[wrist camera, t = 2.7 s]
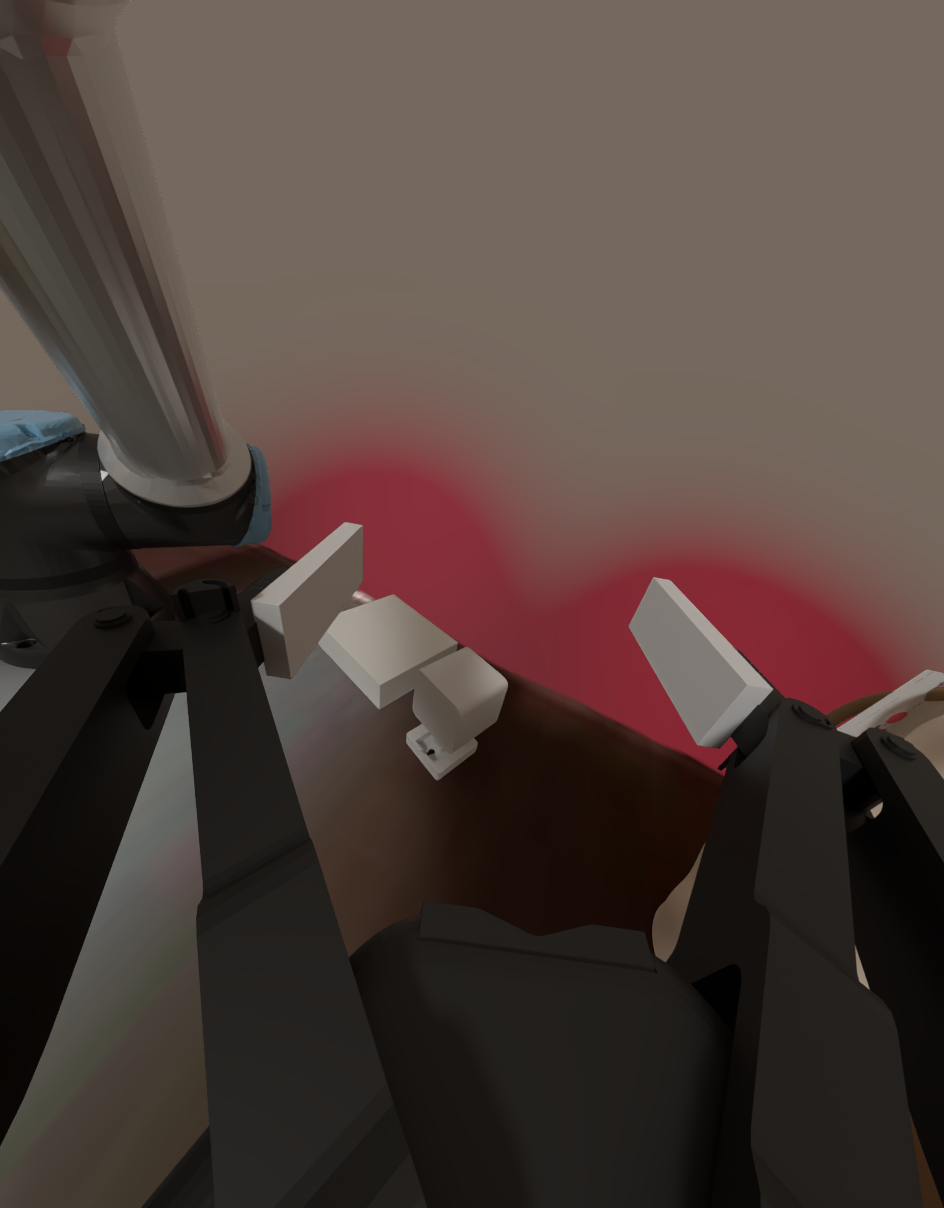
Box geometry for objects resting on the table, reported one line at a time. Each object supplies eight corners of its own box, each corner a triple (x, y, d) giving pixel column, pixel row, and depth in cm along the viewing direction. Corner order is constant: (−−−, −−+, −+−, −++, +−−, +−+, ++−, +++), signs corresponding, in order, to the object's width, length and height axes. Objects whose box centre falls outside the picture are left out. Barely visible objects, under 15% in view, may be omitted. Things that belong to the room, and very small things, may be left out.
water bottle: (605, 896, 27) (897, 610, 12) (679, 854, 31) (975, 595, 16) (724, 1109, 19) (1906, 1045, 4) (804, 1020, 23) (1609, 822, 8)
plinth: (318, 644, 45) (316, 620, 43) (392, 615, 54) (393, 594, 51) (379, 709, 38) (380, 685, 36) (453, 664, 46) (458, 642, 44)
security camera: (489, 745, 37) (510, 681, 31) (439, 785, 32) (453, 717, 27) (452, 707, 40) (465, 643, 35) (402, 738, 36) (408, 670, 30)
